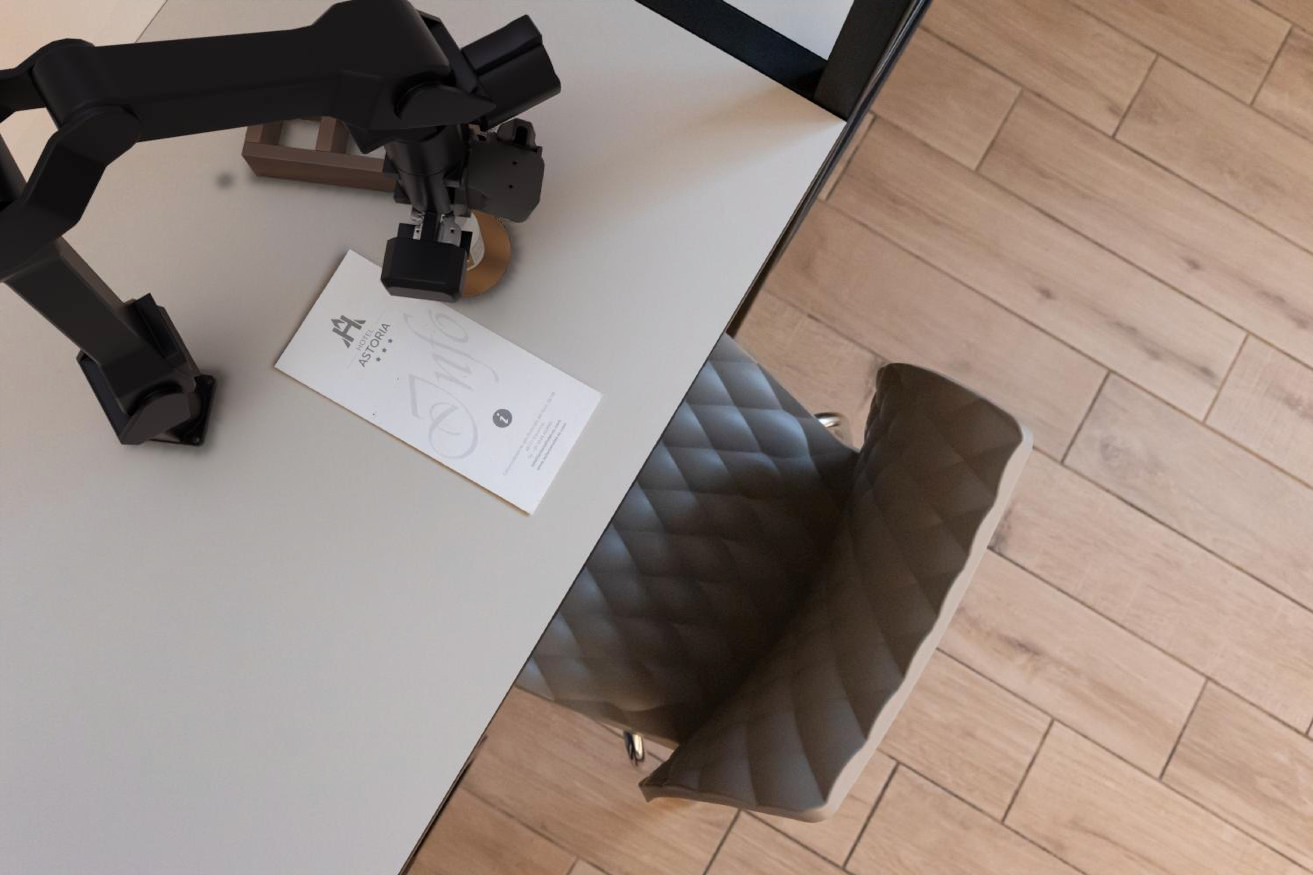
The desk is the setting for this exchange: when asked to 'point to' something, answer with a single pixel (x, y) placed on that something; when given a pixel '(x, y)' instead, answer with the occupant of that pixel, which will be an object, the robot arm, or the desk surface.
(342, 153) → the rack
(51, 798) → the desk surface
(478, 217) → the coaster
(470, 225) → the pill bottle
